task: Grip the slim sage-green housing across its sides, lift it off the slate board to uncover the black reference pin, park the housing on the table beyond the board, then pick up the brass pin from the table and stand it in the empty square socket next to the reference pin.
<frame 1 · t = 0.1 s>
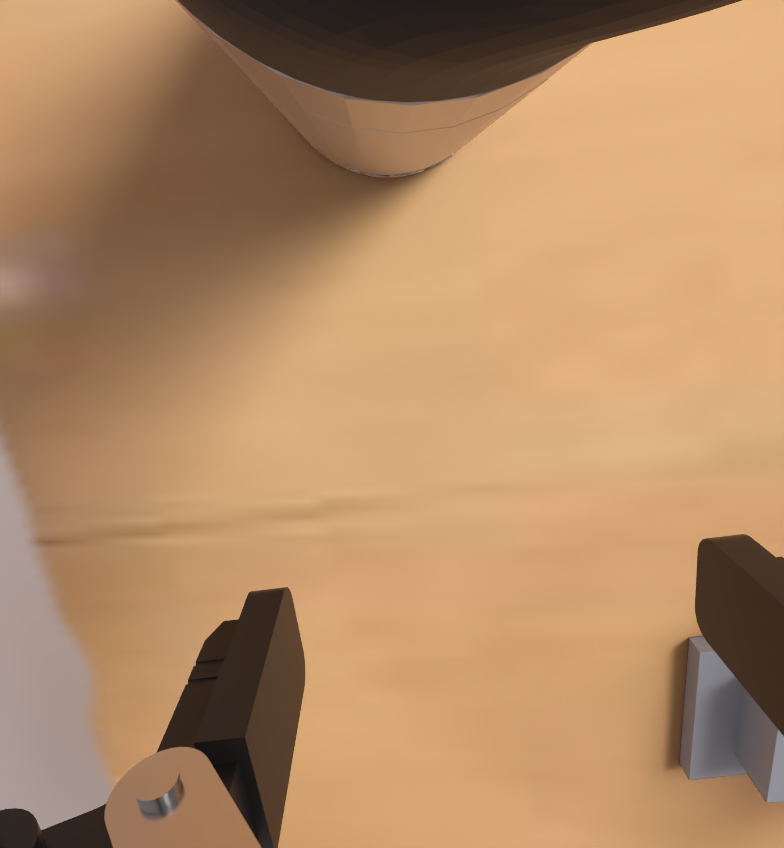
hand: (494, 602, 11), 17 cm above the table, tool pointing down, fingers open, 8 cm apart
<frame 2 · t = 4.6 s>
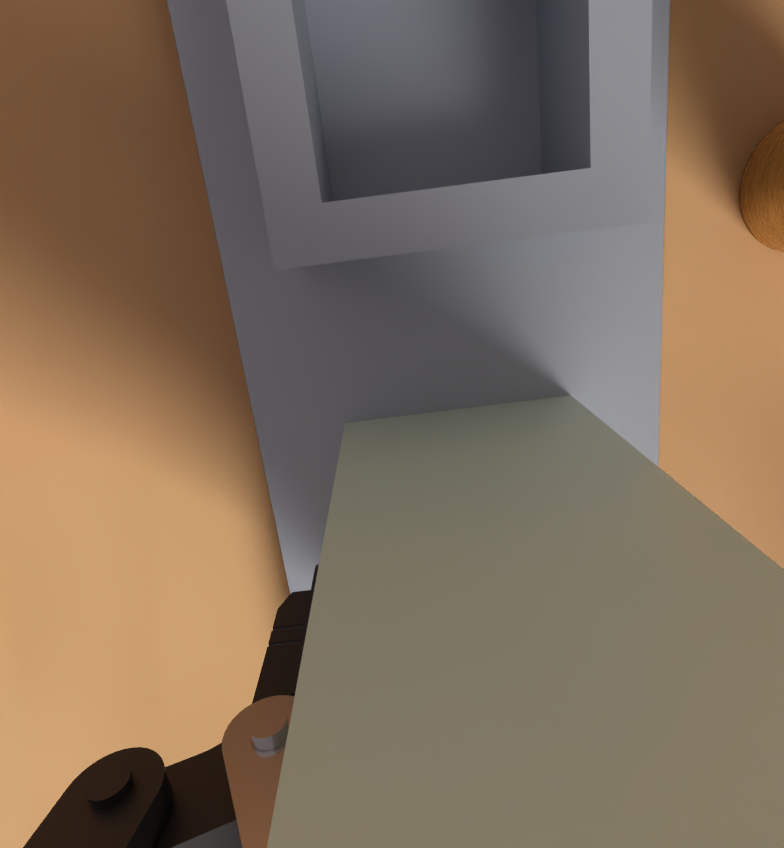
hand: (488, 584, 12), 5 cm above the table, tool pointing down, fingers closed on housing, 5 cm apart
board: (443, 313, 15), on the table
housing: (466, 510, 15), point 1 cm above the table, touching board, gripper
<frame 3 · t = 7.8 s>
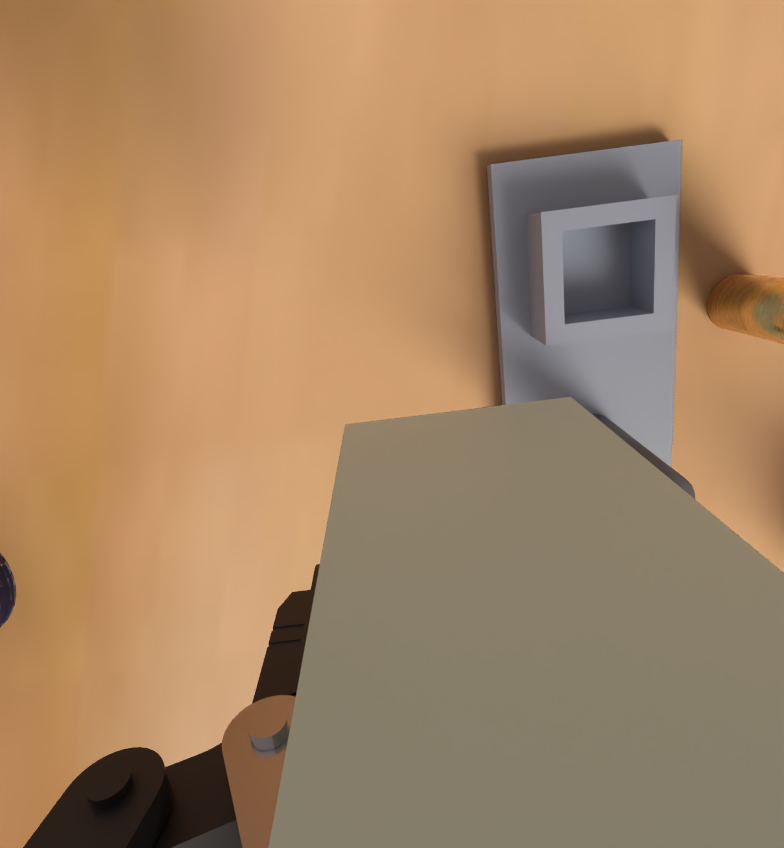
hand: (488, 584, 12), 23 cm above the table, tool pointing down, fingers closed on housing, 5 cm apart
brass pin: (734, 302, 34), on the table
board: (582, 354, 34), on the table
housing: (466, 512, 15), point 20 cm above the table, touching gripper
when the fingers open (4 cm above the table, at t = 11.1 s): housing stays where it is, on the table.
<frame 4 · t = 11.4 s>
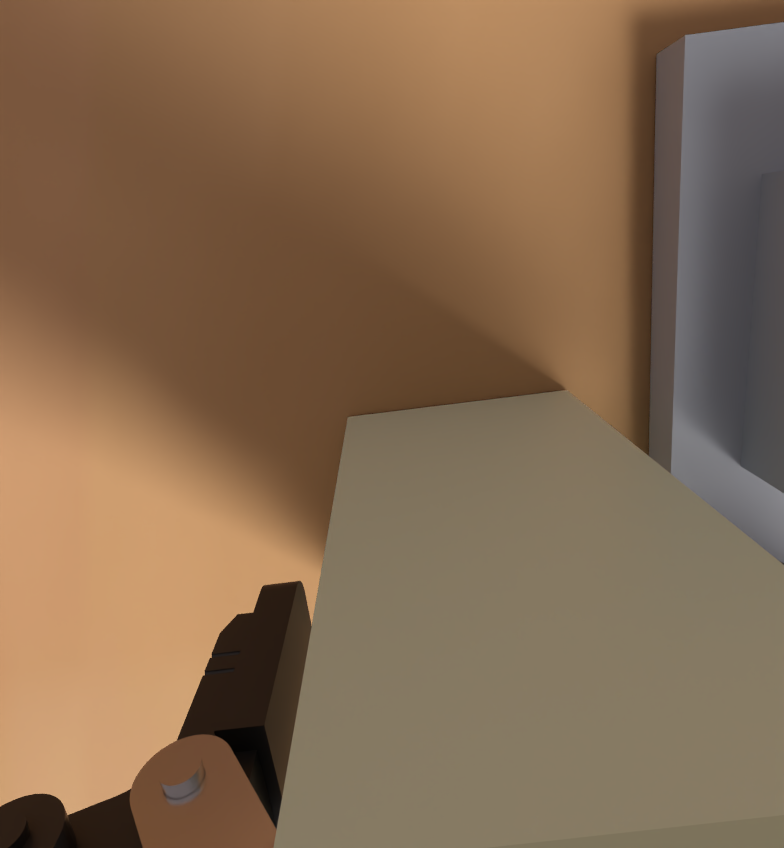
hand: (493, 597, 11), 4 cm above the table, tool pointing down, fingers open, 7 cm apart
housing: (465, 502, 15), on the table
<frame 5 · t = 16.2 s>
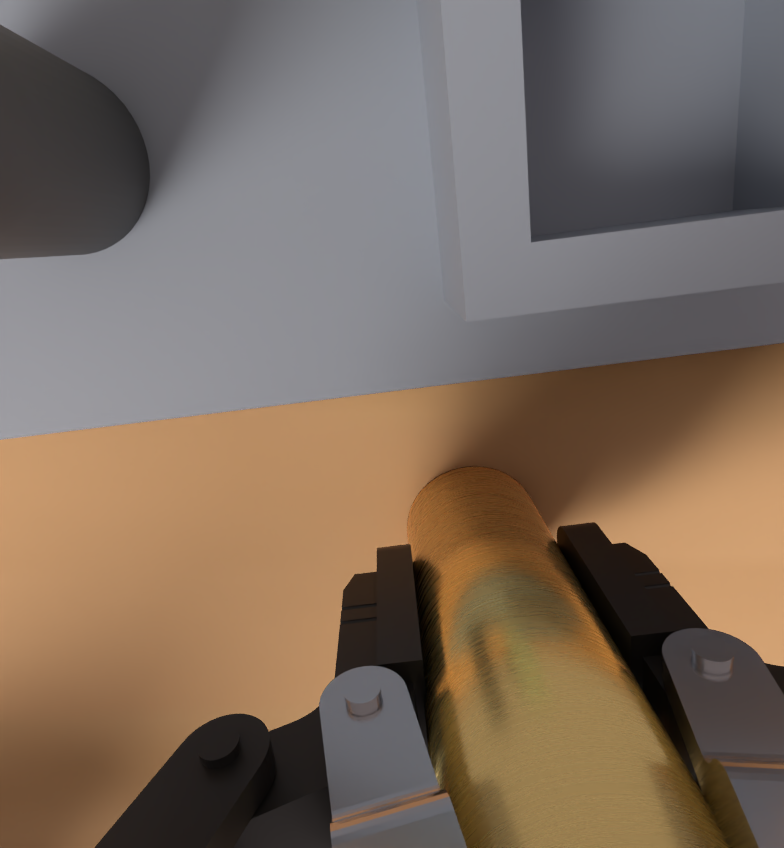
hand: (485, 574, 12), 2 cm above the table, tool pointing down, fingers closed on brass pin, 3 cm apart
brass pin: (471, 526, 14), on the table, touching gripper
board: (338, 138, 11), on the table
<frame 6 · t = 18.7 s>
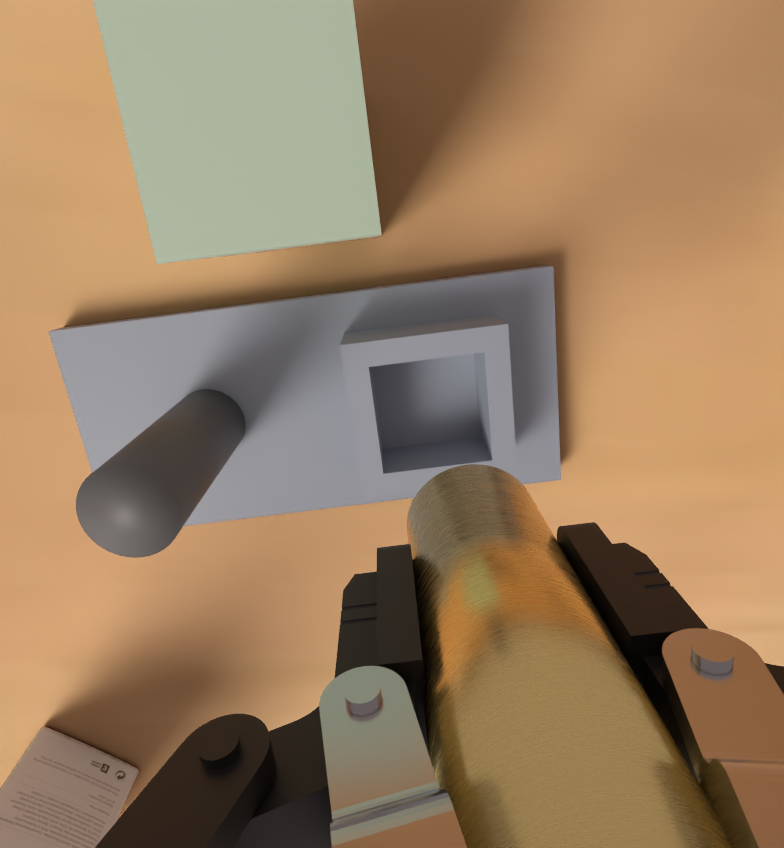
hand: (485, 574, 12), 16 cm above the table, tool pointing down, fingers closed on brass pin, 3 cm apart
skincare box: (69, 786, 35), on the table
brass pin: (471, 524, 14), point 14 cm above the table, touching gripper
board: (320, 402, 27), on the table
housing: (306, 176, 24), on the table
when the fingers open (5 cm above the table, at t = 21.4 s): brass pin drops 1 cm, resting on board.
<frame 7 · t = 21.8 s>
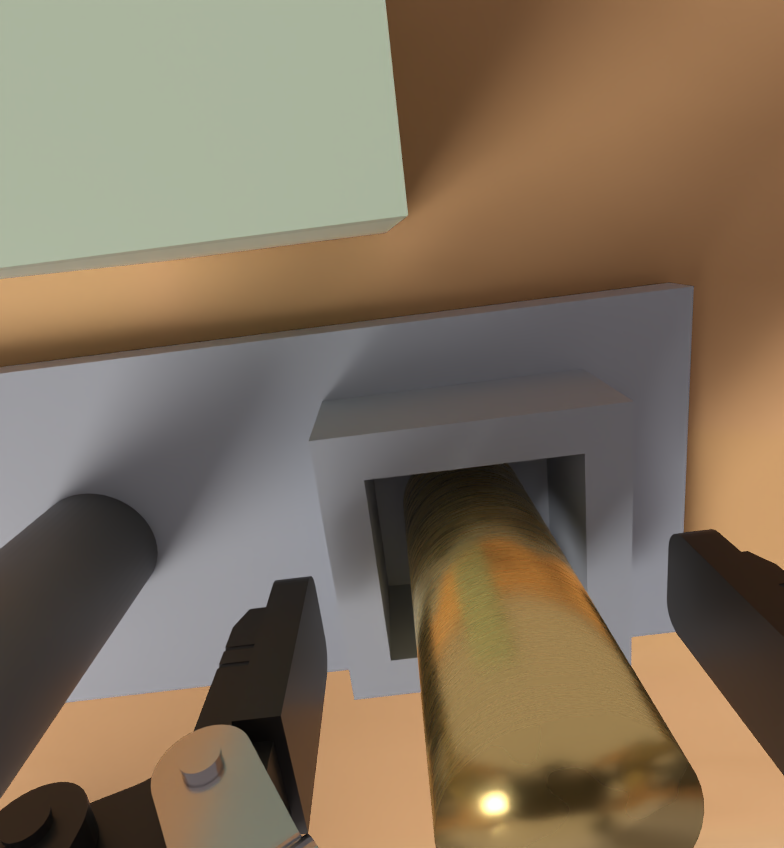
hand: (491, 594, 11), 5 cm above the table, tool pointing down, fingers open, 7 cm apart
brass pin: (462, 502, 15), point 1 cm above the table, touching board
board: (286, 505, 17), on the table
housing: (253, 124, 14), on the table
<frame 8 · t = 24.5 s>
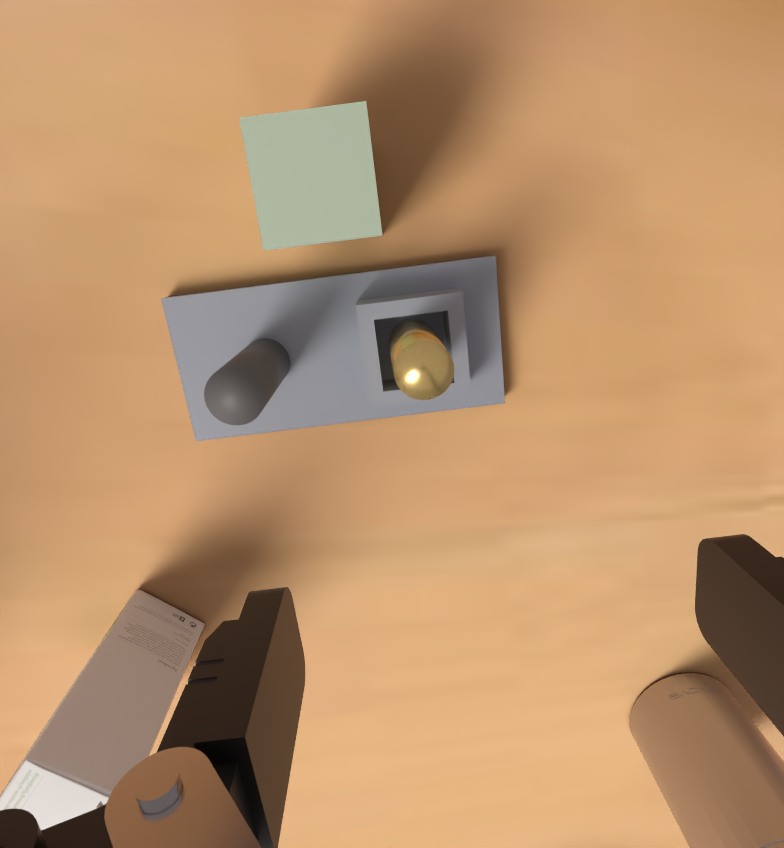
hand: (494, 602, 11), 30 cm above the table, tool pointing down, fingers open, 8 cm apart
skincare box: (152, 638, 47), on the table
brass pin: (412, 343, 39), point 1 cm above the table, touching board
board: (340, 349, 40), on the table
housing: (332, 196, 37), on the table
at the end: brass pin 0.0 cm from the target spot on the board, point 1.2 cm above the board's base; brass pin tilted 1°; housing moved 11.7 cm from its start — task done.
